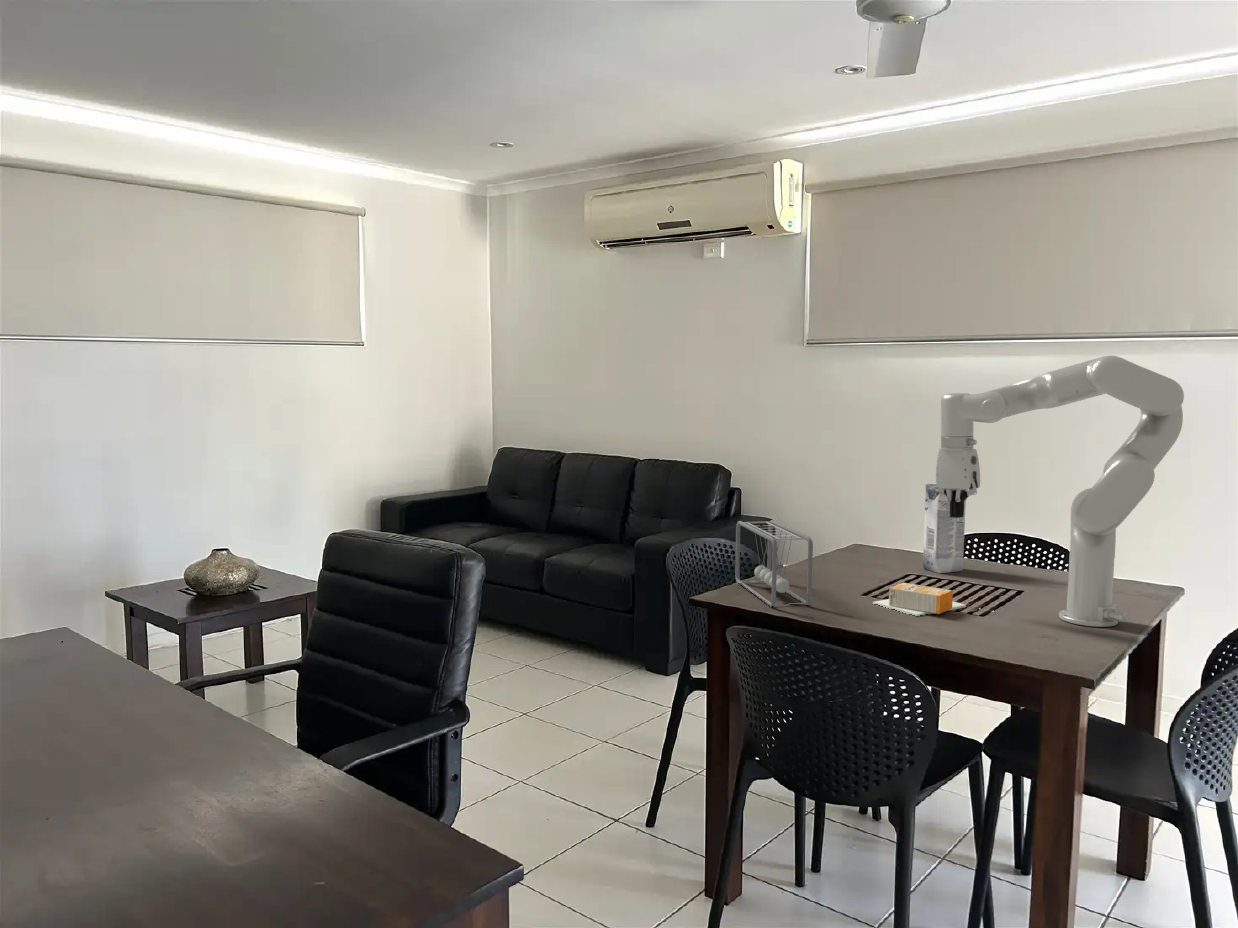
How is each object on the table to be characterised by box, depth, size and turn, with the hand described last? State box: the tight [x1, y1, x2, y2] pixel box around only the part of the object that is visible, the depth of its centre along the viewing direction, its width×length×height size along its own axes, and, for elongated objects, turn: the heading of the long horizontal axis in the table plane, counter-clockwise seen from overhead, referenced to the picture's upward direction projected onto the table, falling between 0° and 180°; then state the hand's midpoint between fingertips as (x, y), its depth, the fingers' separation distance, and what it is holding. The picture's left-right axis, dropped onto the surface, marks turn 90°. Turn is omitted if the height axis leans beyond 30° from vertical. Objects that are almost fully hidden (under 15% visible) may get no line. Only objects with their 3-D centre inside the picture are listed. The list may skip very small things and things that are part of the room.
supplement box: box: [888, 582, 954, 615], centre depth 229 cm, size 8×5×13 cm
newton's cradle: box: [734, 519, 814, 607], centre depth 244 cm, size 30×10×18 cm, turn 11°
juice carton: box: [922, 483, 967, 574], centre depth 274 cm, size 9×10×27 cm
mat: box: [872, 598, 967, 617], centre depth 234 cm, size 14×18×1 cm
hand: (956, 516), depth 229 cm, fingers closed
